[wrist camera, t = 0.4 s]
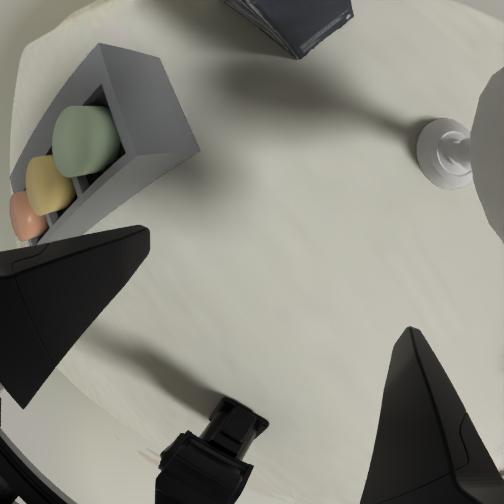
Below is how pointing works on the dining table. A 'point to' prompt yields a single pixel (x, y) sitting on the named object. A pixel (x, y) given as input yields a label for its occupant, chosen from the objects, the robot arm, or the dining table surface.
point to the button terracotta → (26, 218)
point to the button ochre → (47, 186)
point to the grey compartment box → (128, 126)
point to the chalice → (470, 152)
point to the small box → (295, 20)
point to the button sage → (85, 140)
